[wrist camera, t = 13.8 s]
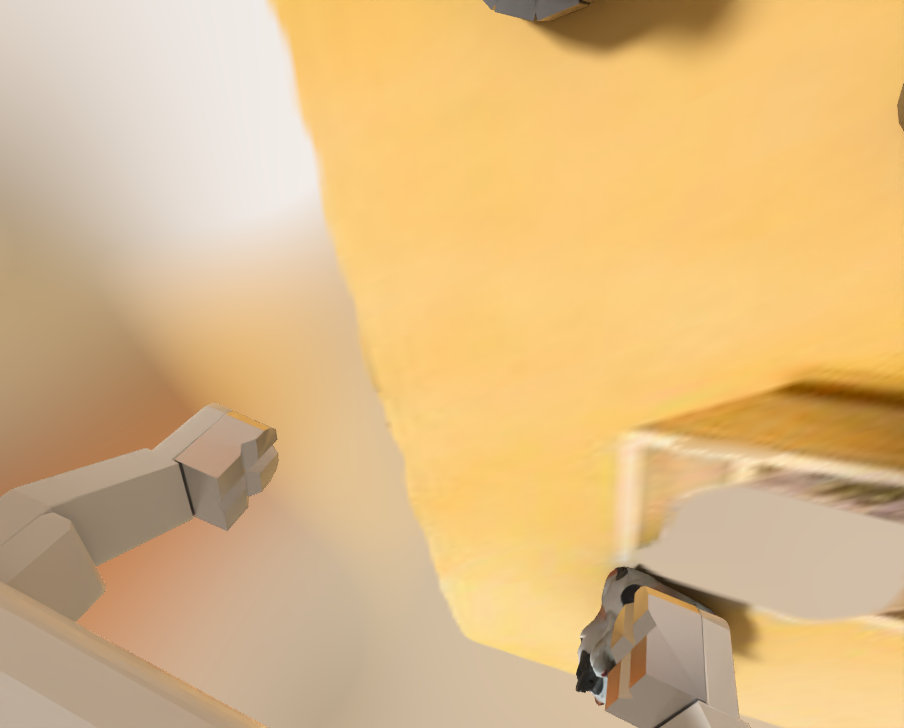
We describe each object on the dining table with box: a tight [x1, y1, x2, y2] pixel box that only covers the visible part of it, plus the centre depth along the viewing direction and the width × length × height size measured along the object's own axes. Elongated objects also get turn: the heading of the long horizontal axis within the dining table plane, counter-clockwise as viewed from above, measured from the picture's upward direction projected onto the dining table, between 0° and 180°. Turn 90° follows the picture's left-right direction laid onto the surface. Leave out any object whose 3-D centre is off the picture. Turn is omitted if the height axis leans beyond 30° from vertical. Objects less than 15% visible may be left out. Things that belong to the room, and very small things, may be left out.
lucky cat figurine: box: [576, 567, 717, 705], centre depth 50 cm, size 15×12×14 cm
